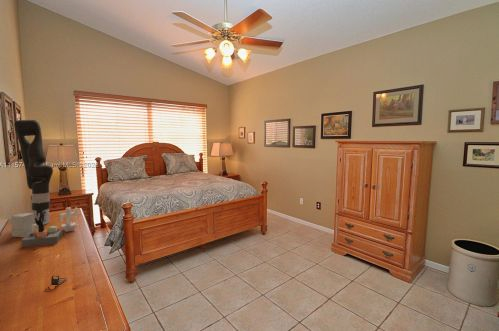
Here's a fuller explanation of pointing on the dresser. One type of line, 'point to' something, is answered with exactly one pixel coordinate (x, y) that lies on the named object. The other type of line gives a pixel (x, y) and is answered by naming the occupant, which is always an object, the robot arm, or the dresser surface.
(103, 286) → the dresser surface
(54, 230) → the green egg
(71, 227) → the figurine
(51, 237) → the grey square tray
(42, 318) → the dresser surface
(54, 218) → the dresser surface
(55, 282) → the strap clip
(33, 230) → the white egg
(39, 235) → the brown egg
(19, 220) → the supplement box
